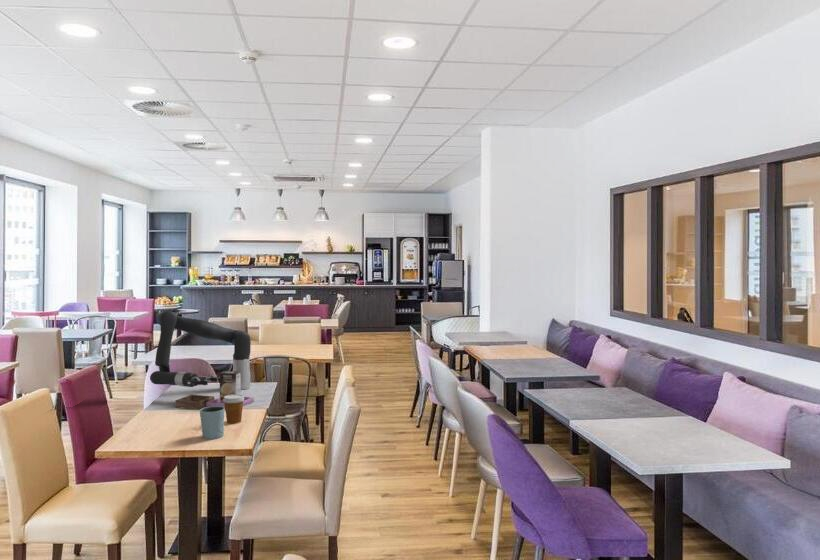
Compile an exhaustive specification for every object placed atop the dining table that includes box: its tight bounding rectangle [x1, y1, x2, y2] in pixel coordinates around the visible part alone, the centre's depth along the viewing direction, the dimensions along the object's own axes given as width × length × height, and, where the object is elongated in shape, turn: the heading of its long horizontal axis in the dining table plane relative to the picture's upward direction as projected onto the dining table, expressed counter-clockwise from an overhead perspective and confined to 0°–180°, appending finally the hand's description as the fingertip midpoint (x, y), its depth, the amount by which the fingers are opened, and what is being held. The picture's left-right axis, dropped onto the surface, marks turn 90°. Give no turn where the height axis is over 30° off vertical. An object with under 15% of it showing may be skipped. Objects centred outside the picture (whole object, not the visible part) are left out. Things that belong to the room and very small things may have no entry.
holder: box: [174, 394, 215, 410], centre depth 307 cm, size 13×14×4 cm
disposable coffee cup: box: [223, 394, 245, 425], centre depth 276 cm, size 10×10×12 cm
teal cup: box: [199, 406, 226, 440], centre depth 254 cm, size 10×10×12 cm
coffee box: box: [219, 370, 242, 404], centre depth 308 cm, size 9×6×16 cm
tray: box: [206, 395, 255, 408], centre depth 308 cm, size 17×17×2 cm
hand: (212, 381), depth 311 cm, fingers open, 8 cm apart
